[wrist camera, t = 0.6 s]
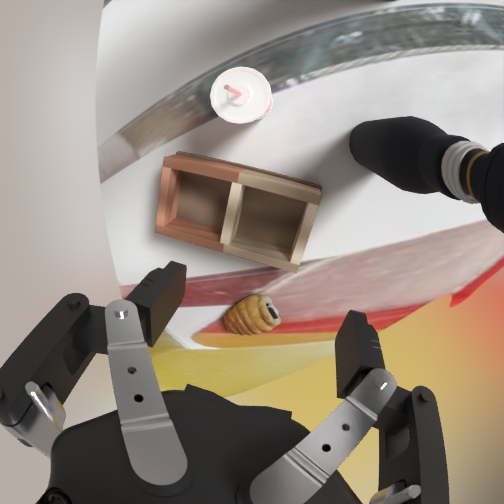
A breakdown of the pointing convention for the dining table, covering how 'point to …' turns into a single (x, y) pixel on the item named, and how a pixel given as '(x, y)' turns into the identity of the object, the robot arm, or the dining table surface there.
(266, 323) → the pastry
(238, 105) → the beverage cup
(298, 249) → the cup holder
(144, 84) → the dining table surface
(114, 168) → the dining table surface
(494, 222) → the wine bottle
